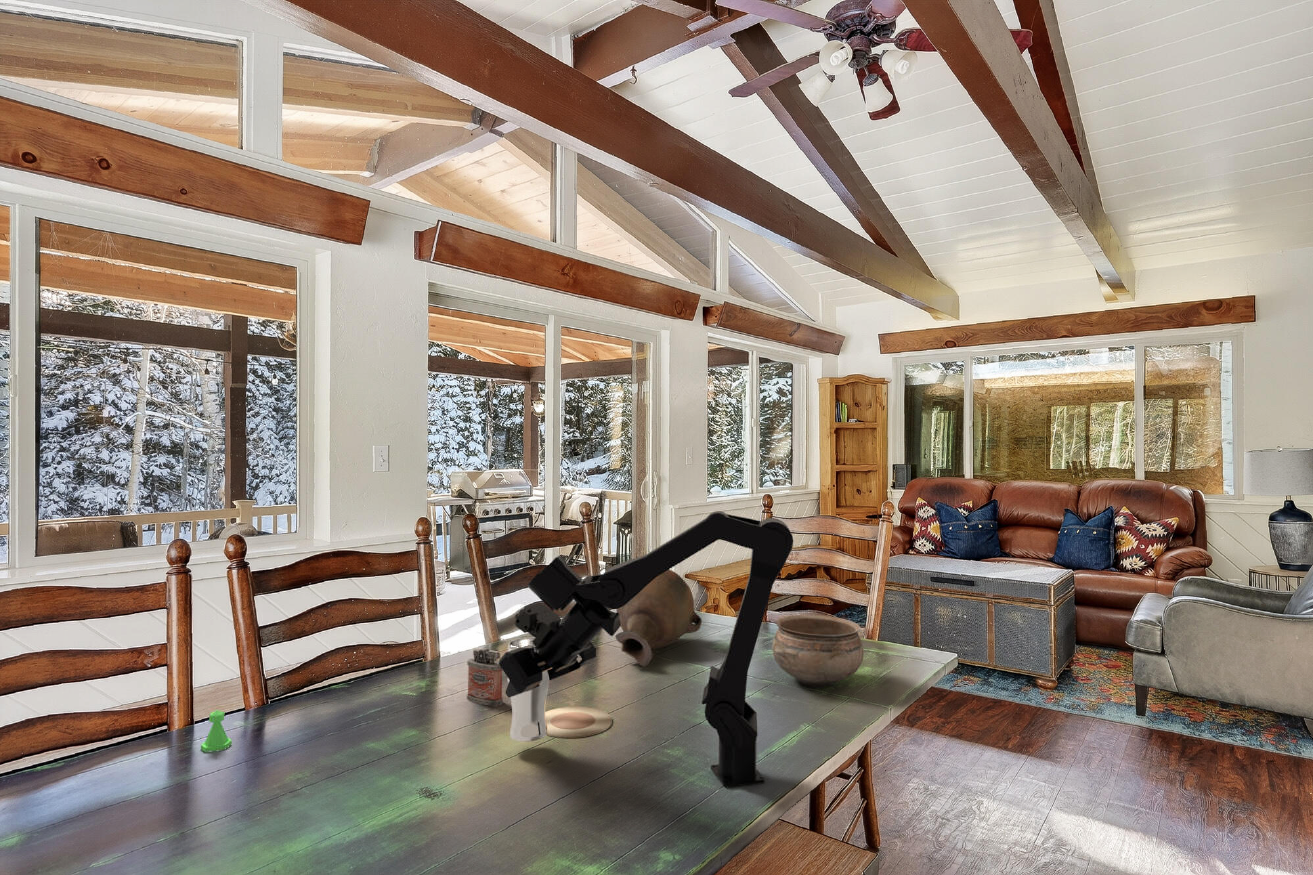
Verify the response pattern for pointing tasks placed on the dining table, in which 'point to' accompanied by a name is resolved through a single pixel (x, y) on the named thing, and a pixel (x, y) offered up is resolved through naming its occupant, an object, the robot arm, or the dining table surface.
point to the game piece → (216, 734)
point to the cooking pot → (818, 648)
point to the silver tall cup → (529, 702)
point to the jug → (657, 617)
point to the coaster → (576, 722)
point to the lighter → (485, 678)
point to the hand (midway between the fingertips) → (522, 688)
